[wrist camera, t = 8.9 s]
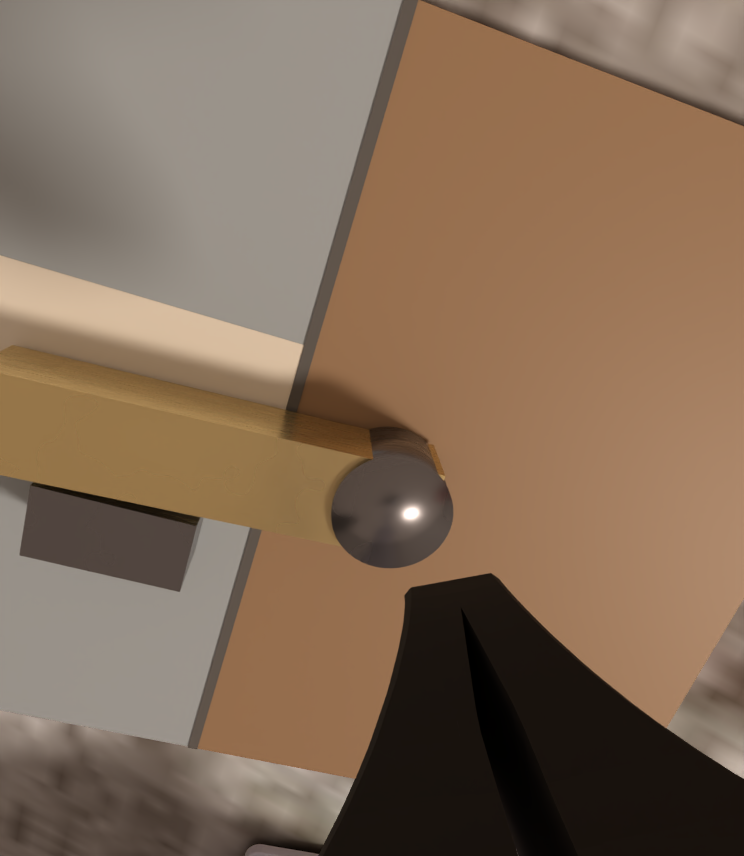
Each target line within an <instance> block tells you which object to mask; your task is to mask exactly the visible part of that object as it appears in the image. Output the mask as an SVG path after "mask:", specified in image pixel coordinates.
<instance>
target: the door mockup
mask: <svg viewBox="0 0 744 856" xmlns="http://www.w3.org/2000/svg"><path fill="white" fill-rule="evenodd" d="M11 345H15V346H19V347H23V348H28V349H32V350H36V351H40V352H44V353H49V354H53V355H57V356H61V357H65V358H70V359H74V360H78V361H82V362H87V363H91V364H95V365H99V366H103V367H108V368H112V369H116V370H120V371H124V372H129V373H133V374H137V375H141V376H146V377H150V378H154V379H158V380H162V381H167V382H171V383H175V384H179V385H183V386H188V387H192V388H196V389H200V390H205V391H209V392H213V393H217V394H221V395H226V396H230V397H234V398H238V399H242V400H247V401H251V402H255V403H259V404H264V405H268V406H272V407H276V408H280V409H285V410H289V411H293V412H297V413H301V414H306V415H310V416H314V417H318V418H323V419H327V420H331V421H335V422H339V423H344V424H348V425H352V426H356V427H360V428H365V429H373V428H378V427H397V428H402V429H406V430H409V431H411V432H413V433H415V434H417V435H418V436H420V437H421V438H422V439H424V440H425V441H426V442H427V443H428V444H432V445H434V447H435V449H436V452H437V455H438V457H439V460H440V463H441V465H442V468H443V471H444V474H445V481H446V484H447V487H448V490H449V492H450V495H451V498H452V502H453V522H452V525H451V529H450V531H449V533H448V536H447V537H446V539H445V540H444V542H443V543H442V544H441V546H440V547H439V548H438V549H437V550H436V551H435V552H434V553H433V554H431V555H430V556H429V557H427V558H425V559H424V560H422V561H420V562H418V563H415V564H413V565H410V566H406V567H401V568H379V567H374V566H370V565H367V564H365V563H363V562H361V561H359V560H357V559H355V558H354V557H352V556H351V555H350V554H349V553H348V552H347V551H346V550H344V548H343V547H341V546H336V545H331V544H326V543H321V542H317V541H312V540H307V539H302V538H298V537H293V536H288V535H283V534H279V533H274V532H269V531H264V530H260V529H255V528H250V527H245V526H241V525H236V524H231V523H226V522H221V521H217V520H212V519H207V518H204V519H203V522H202V526H201V530H200V534H199V538H198V542H197V546H196V549H195V553H194V555H193V558H192V561H191V563H190V566H189V569H188V571H187V574H186V577H185V580H184V582H183V585H182V588H181V590H180V592H177V591H173V590H168V589H164V588H160V587H155V586H151V585H146V584H142V583H138V582H133V581H129V580H125V579H120V578H116V577H111V576H107V575H103V574H98V573H94V572H90V571H85V570H81V569H76V568H72V567H68V566H63V565H59V564H55V563H50V562H46V561H41V560H37V559H33V558H28V557H24V556H20V555H19V554H20V547H21V541H22V535H23V528H24V522H25V515H26V509H27V503H28V496H29V490H30V485H31V484H32V483H33V482H31V481H26V480H21V479H17V478H12V477H7V476H2V475H0V710H1V711H6V712H12V713H17V714H22V715H27V716H32V717H37V718H43V719H48V720H53V721H58V722H63V723H69V724H74V725H79V726H84V727H89V728H95V729H100V730H105V731H110V732H115V733H121V734H126V735H131V736H136V737H141V738H146V739H152V740H157V741H162V742H167V743H172V744H178V745H183V746H188V748H193V749H197V748H198V749H204V750H209V751H214V752H219V753H224V754H230V755H235V756H240V757H245V758H250V759H255V760H261V761H266V762H271V763H276V764H281V765H287V766H292V767H297V768H302V769H307V770H313V771H318V772H323V773H328V774H333V775H339V776H344V777H349V778H354V779H355V778H356V776H357V774H358V771H359V769H360V766H361V764H362V761H363V759H364V756H365V754H366V751H367V749H368V746H369V744H370V741H371V738H372V735H373V732H374V729H375V727H376V724H377V721H378V718H379V715H380V712H381V709H382V706H383V703H384V700H385V697H386V694H387V691H388V687H389V684H390V680H391V676H392V672H393V668H394V664H395V660H396V656H397V653H398V648H399V643H400V638H401V633H402V627H403V620H404V609H405V599H404V595H405V594H406V593H407V591H408V590H409V589H410V588H411V587H416V586H421V585H427V584H432V583H438V582H443V581H449V580H455V579H460V578H466V577H471V576H477V575H482V574H488V573H492V574H493V575H495V576H496V577H498V578H499V579H500V580H501V582H502V583H503V584H504V585H505V586H506V587H507V589H508V590H509V591H510V592H511V593H512V594H513V595H514V596H515V598H516V599H517V600H518V601H519V602H520V603H521V604H522V605H523V606H524V607H525V608H526V609H527V610H528V611H529V612H530V613H531V614H532V615H533V616H534V617H535V618H536V619H537V620H538V621H539V622H540V623H541V624H542V625H543V626H544V627H545V628H546V629H547V630H548V631H549V632H550V633H551V634H552V635H553V636H554V637H555V638H556V639H557V640H559V641H560V642H561V643H562V644H563V645H564V646H565V647H566V648H567V649H568V650H570V651H571V652H572V653H573V654H574V655H575V656H576V657H577V658H578V659H579V660H581V661H582V662H583V663H584V664H585V665H586V666H587V667H589V668H590V669H591V670H592V671H593V672H594V673H596V674H597V675H598V676H599V677H600V678H602V679H603V680H604V681H605V682H607V683H608V684H609V685H610V686H611V687H613V688H614V689H615V690H616V691H618V692H619V693H620V694H621V695H623V696H624V697H625V698H626V699H628V700H629V701H630V702H632V703H633V704H634V705H635V706H637V707H638V708H639V709H641V710H642V711H643V712H645V713H646V714H647V715H649V716H650V717H651V718H653V719H654V720H655V721H657V722H658V723H660V724H661V725H662V726H664V727H665V728H667V726H668V724H669V723H670V721H671V719H672V718H673V716H674V714H675V713H676V711H677V709H678V708H679V706H680V704H681V703H682V701H683V699H684V698H685V696H686V694H687V693H688V691H689V689H690V688H691V686H692V684H693V683H694V681H695V679H696V678H697V676H698V674H699V673H700V671H701V669H702V668H703V666H704V664H705V663H706V661H707V659H708V658H709V656H710V654H711V652H712V651H713V649H714V647H715V646H716V644H717V642H718V641H719V639H720V637H721V636H722V634H723V632H724V631H725V629H726V627H727V626H728V624H729V622H730V621H731V619H732V617H733V616H734V614H735V612H736V611H737V609H738V607H739V606H740V604H741V602H742V601H743V599H744V126H741V125H739V124H736V123H734V122H731V121H729V120H726V119H723V118H721V117H718V116H716V115H713V114H711V113H708V112H706V111H703V110H700V109H698V108H695V107H693V106H690V105H688V104H685V103H682V102H680V101H677V100H675V99H672V98H670V97H667V96H665V95H662V94H659V93H657V92H654V91H652V90H649V89H647V88H644V87H641V86H639V85H636V84H634V83H631V82H629V81H626V80H624V79H621V78H618V77H616V76H613V75H611V74H608V73H606V72H603V71H600V70H598V69H595V68H593V67H590V66H588V65H585V64H583V63H580V62H577V61H575V60H572V59H570V58H567V57H565V56H562V55H559V54H557V53H554V52H552V51H549V50H547V49H544V48H541V47H539V46H536V45H534V44H531V43H529V42H526V41H524V40H521V39H518V38H516V37H513V36H511V35H508V34H506V33H503V32H500V31H498V30H495V29H493V28H490V27H488V26H485V25H483V24H480V23H477V22H475V21H472V20H470V19H467V18H465V17H462V16H459V15H457V14H454V13H452V12H449V11H447V10H444V9H442V8H439V7H436V6H434V5H431V4H429V3H426V2H424V1H421V0H0V351H2V350H4V349H6V348H8V347H10V346H11Z"/></svg>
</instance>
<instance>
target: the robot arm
mask: <svg viewBox="0 0 744 856" xmlns="http://www.w3.org/2000/svg"><path fill="white" fill-rule="evenodd" d="M404 599H405V609H404V620H403V627H402V633H401V638H400V643H399V648H398V653H397V656H396V660H395V664H394V668H393V672H392V676H391V680H390V684H389V687H388V691H387V694H386V697H385V700H384V703H383V706H382V709H381V712H380V715H379V718H378V721H377V724H376V727H375V729H374V732H373V735H372V738H371V741H370V744H369V746H368V749H367V751H366V754H365V756H364V759H363V761H362V764H361V766H360V769H359V771H358V774H357V776H356V778H355V781H354V783H353V785H352V787H351V789H350V792H349V794H348V796H347V798H346V801H345V803H344V805H343V807H342V809H341V811H340V814H339V815H338V817H337V819H336V821H335V823H334V825H333V827H332V829H331V831H330V833H329V835H328V837H327V839H326V841H325V843H324V845H323V847H322V849H321V851H320V853H319V854H316V853H310V852H304V851H298V850H293V849H287V848H281V847H275V846H270V845H264V844H256V845H253V846H251V847H250V848H248V850H247V851H246V853H245V856H744V779H743V778H741V777H740V776H738V775H736V774H734V773H733V772H731V771H730V770H728V769H727V768H725V767H723V766H722V765H720V764H719V763H717V762H716V761H714V760H713V759H711V758H709V757H708V756H706V755H705V754H703V753H702V752H700V751H699V750H697V749H696V748H694V747H693V746H691V745H690V744H688V743H687V742H685V741H684V740H683V739H681V738H680V737H678V736H677V735H675V734H674V733H672V732H671V731H670V730H668V729H667V728H665V727H664V726H662V725H661V724H660V723H658V722H657V721H655V720H654V719H653V718H651V717H650V716H649V715H647V714H646V713H645V712H643V711H642V710H641V709H639V708H638V707H637V706H635V705H634V704H633V703H632V702H630V701H629V700H628V699H626V698H625V697H624V696H623V695H621V694H620V693H619V692H618V691H616V690H615V689H614V688H613V687H611V686H610V685H609V684H608V683H607V682H605V681H604V680H603V679H602V678H600V677H599V676H598V675H597V674H596V673H594V672H593V671H592V670H591V669H590V668H589V667H587V666H586V665H585V664H584V663H583V662H582V661H581V660H579V659H578V658H577V657H576V656H575V655H574V654H573V653H572V652H571V651H570V650H568V649H567V648H566V647H565V646H564V645H563V644H562V643H561V642H560V641H559V640H557V639H556V638H555V637H554V636H553V635H552V634H551V633H550V632H549V631H548V630H547V629H546V628H545V627H544V626H543V625H542V624H541V623H540V622H539V621H538V620H537V619H536V618H535V617H534V616H533V615H532V614H531V613H530V612H529V611H528V610H527V609H526V608H525V607H524V606H523V605H522V604H521V603H520V602H519V601H518V600H517V599H516V598H515V596H514V595H513V594H512V593H511V592H510V591H509V590H508V589H507V587H506V586H505V585H504V584H503V583H502V582H501V580H500V579H499V578H498V577H496V576H495V575H493V574H492V573H488V574H482V575H477V576H471V577H466V578H460V579H455V580H449V581H443V582H438V583H432V584H427V585H421V586H416V587H411V588H410V589H409V590H408V591H407V593H406V594H405V595H404ZM516 850H517V851H516ZM517 853H518V854H517Z"/></svg>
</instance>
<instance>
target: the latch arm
mask: <svg viewBox="0 0 744 856" xmlns="http://www.w3.org/2000/svg"><path fill="white" fill-rule="evenodd" d="M0 475H2V476H7V477H12V478H17V479H21V480H26V481H31V482H36V483H40V484H45V485H50V486H55V487H60V488H64V489H69V490H74V491H79V492H83V493H88V494H93V495H98V496H102V497H107V498H112V499H117V500H121V501H126V502H131V503H136V504H140V505H145V506H150V507H155V508H160V509H164V510H169V511H174V512H179V513H183V514H188V515H193V516H198V517H202V518H207V519H212V520H217V521H221V522H226V523H231V524H236V525H241V526H245V527H250V528H255V529H260V530H264V531H269V532H274V533H279V534H283V535H288V536H293V537H298V538H302V539H307V540H312V541H317V542H321V543H326V544H331V545H336V546H341V547H343V548H344V550H346V551H347V552H348V553H349V554H350V555H351V556H352V557H354V558H355V559H357V560H359V561H361V562H363V563H365V564H367V565H370V566H374V567H379V568H401V567H406V566H410V565H413V564H415V563H418V562H420V561H422V560H424V559H425V558H427V557H429V556H430V555H431V554H433V553H434V552H435V551H436V550H437V549H438V548H439V547H440V546H441V544H442V543H443V542H444V540H445V539H446V537H447V536H448V533H449V531H450V529H451V525H452V522H453V502H452V498H451V495H450V492H449V490H448V487H447V484H446V481H445V474H444V471H443V468H442V465H441V463H440V460H439V457H438V455H437V452H436V449H435V447H434V445H432V444H428V443H427V442H426V441H425V440H424V439H422V438H421V437H420V436H418V435H417V434H415V433H413V432H411V431H409V430H406V429H402V428H397V427H378V428H373V429H365V428H360V427H356V426H352V425H348V424H344V423H339V422H335V421H331V420H327V419H323V418H318V417H314V416H310V415H306V414H301V413H297V412H293V411H289V410H285V409H280V408H276V407H272V406H268V405H264V404H259V403H255V402H251V401H247V400H242V399H238V398H234V397H230V396H226V395H221V394H217V393H213V392H209V391H205V390H200V389H196V388H192V387H188V386H183V385H179V384H175V383H171V382H167V381H162V380H158V379H154V378H150V377H146V376H141V375H137V374H133V373H129V372H124V371H120V370H116V369H112V368H108V367H103V366H99V365H95V364H91V363H87V362H82V361H78V360H74V359H70V358H65V357H61V356H57V355H53V354H49V353H44V352H40V351H36V350H32V349H28V348H23V347H19V346H15V345H11V346H10V347H8V348H6V349H4V350H2V351H0Z"/></svg>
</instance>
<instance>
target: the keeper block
mask: <svg viewBox="0 0 744 856" xmlns="http://www.w3.org/2000/svg"><path fill="white" fill-rule="evenodd" d="M203 519H204V518H202V517H198V516H193V515H188V514H183V513H179V512H174V511H169V510H164V509H160V508H155V507H150V506H145V505H140V504H136V503H131V502H126V501H121V500H117V499H112V498H107V497H102V496H98V495H93V494H88V493H83V492H79V491H74V490H69V489H64V488H60V487H55V486H50V485H45V484H40V483H36V482H33V483H32V484H31V485H30V490H29V496H28V503H27V509H26V515H25V522H24V528H23V535H22V541H21V547H20V554H19V555H20V556H24V557H28V558H33V559H37V560H41V561H46V562H50V563H55V564H59V565H63V566H68V567H72V568H76V569H81V570H85V571H90V572H94V573H98V574H103V575H107V576H111V577H116V578H120V579H125V580H129V581H133V582H138V583H142V584H146V585H151V586H155V587H160V588H164V589H168V590H173V591H177V592H180V590H181V588H182V585H183V582H184V580H185V577H186V574H187V571H188V569H189V566H190V563H191V561H192V558H193V555H194V553H195V549H196V546H197V542H198V538H199V534H200V530H201V526H202V522H203Z"/></svg>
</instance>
